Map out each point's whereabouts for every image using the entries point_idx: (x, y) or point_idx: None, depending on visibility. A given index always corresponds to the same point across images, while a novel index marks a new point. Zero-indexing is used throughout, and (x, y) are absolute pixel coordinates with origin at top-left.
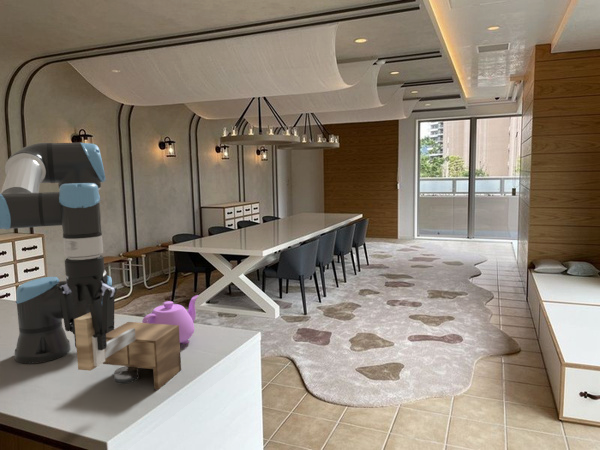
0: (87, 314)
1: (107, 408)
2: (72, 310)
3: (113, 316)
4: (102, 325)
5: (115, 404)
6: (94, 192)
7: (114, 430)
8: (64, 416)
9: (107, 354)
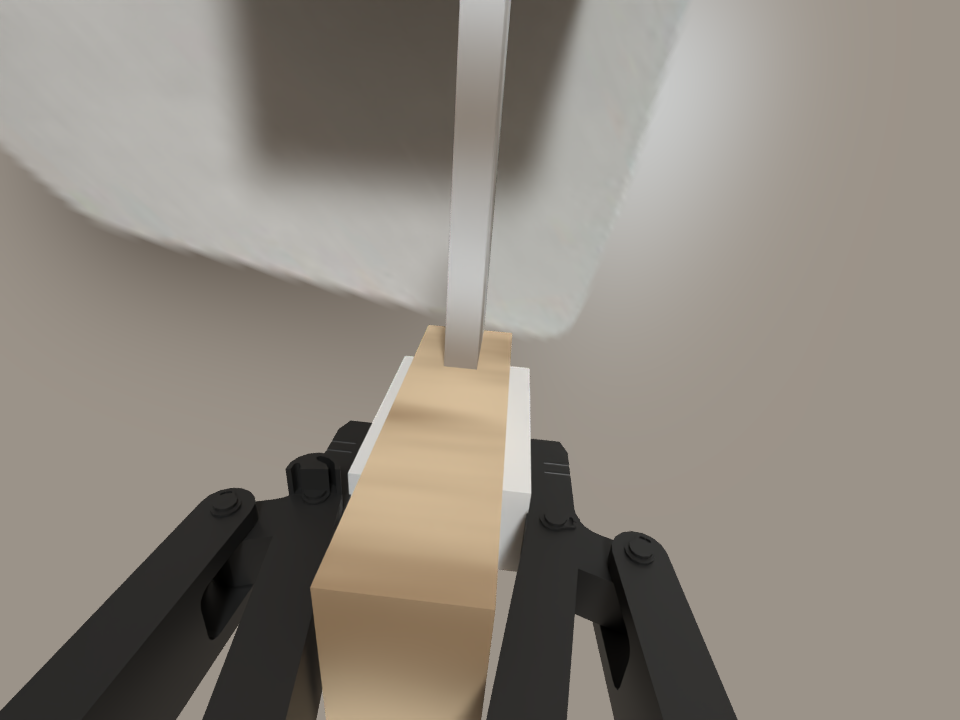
0: (348, 654)
1: (449, 141)
2: (135, 694)
3: (714, 688)
4: (608, 675)
5: None
6: None
7: (563, 288)
8: (325, 224)
9: (487, 279)
